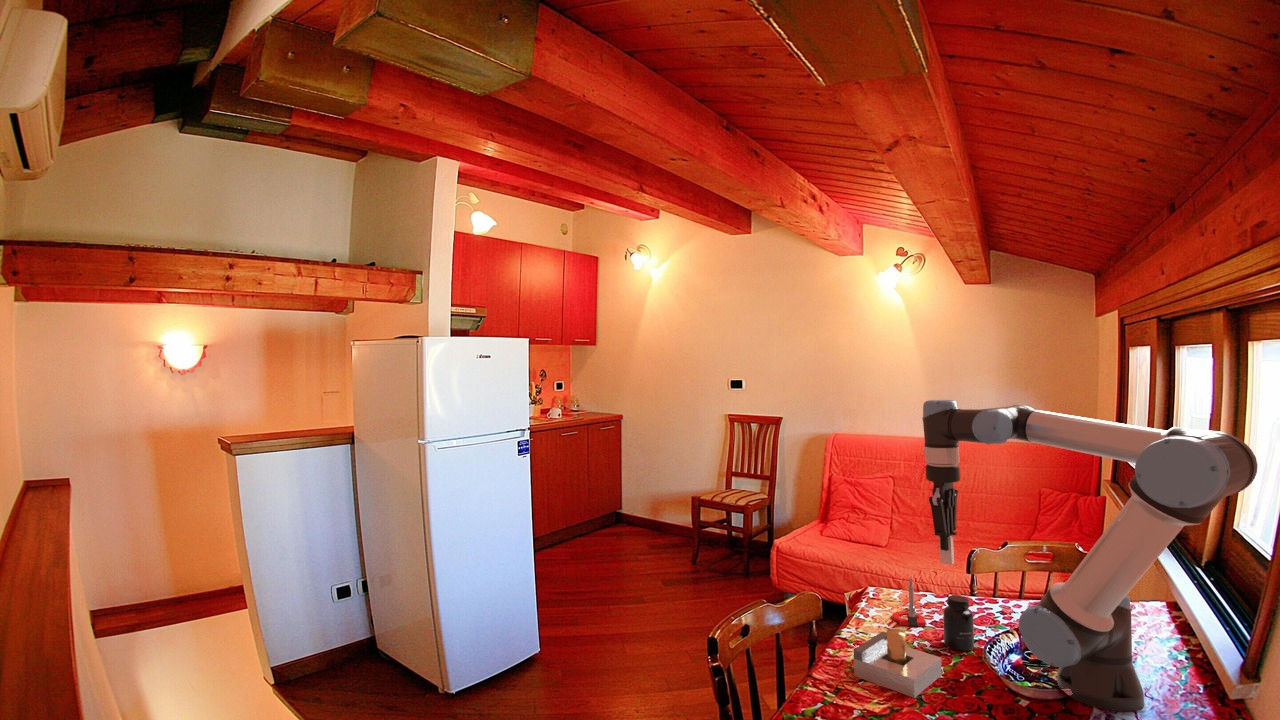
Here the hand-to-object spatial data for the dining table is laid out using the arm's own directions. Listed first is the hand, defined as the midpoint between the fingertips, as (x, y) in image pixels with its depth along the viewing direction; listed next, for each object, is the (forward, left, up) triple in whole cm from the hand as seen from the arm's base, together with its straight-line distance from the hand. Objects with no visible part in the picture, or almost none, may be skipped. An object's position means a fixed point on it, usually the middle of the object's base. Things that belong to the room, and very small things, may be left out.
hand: (947, 562), depth 154 cm
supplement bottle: (+2, -10, -24) cm, 26 cm away
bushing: (+6, +15, -24) cm, 29 cm away
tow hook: (+18, -17, -24) cm, 34 cm away
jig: (+6, +15, -24) cm, 29 cm away
